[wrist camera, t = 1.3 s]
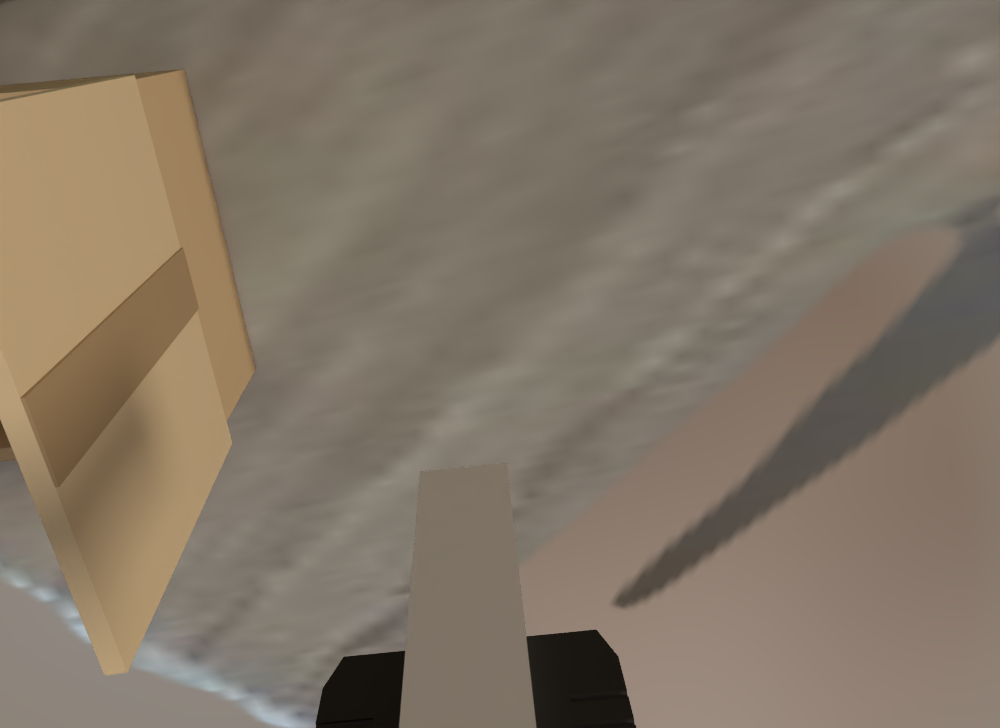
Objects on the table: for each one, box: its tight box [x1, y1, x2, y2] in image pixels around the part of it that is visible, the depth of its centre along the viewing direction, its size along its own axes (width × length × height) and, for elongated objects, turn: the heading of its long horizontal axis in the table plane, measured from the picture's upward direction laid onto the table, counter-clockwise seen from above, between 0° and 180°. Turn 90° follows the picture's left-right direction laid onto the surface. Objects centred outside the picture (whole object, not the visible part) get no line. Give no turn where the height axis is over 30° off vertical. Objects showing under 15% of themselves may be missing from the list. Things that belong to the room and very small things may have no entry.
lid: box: [0, 75, 232, 675], centre depth 23 cm, size 14×12×1 cm
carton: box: [0, 69, 256, 461], centre depth 32 cm, size 14×12×7 cm
